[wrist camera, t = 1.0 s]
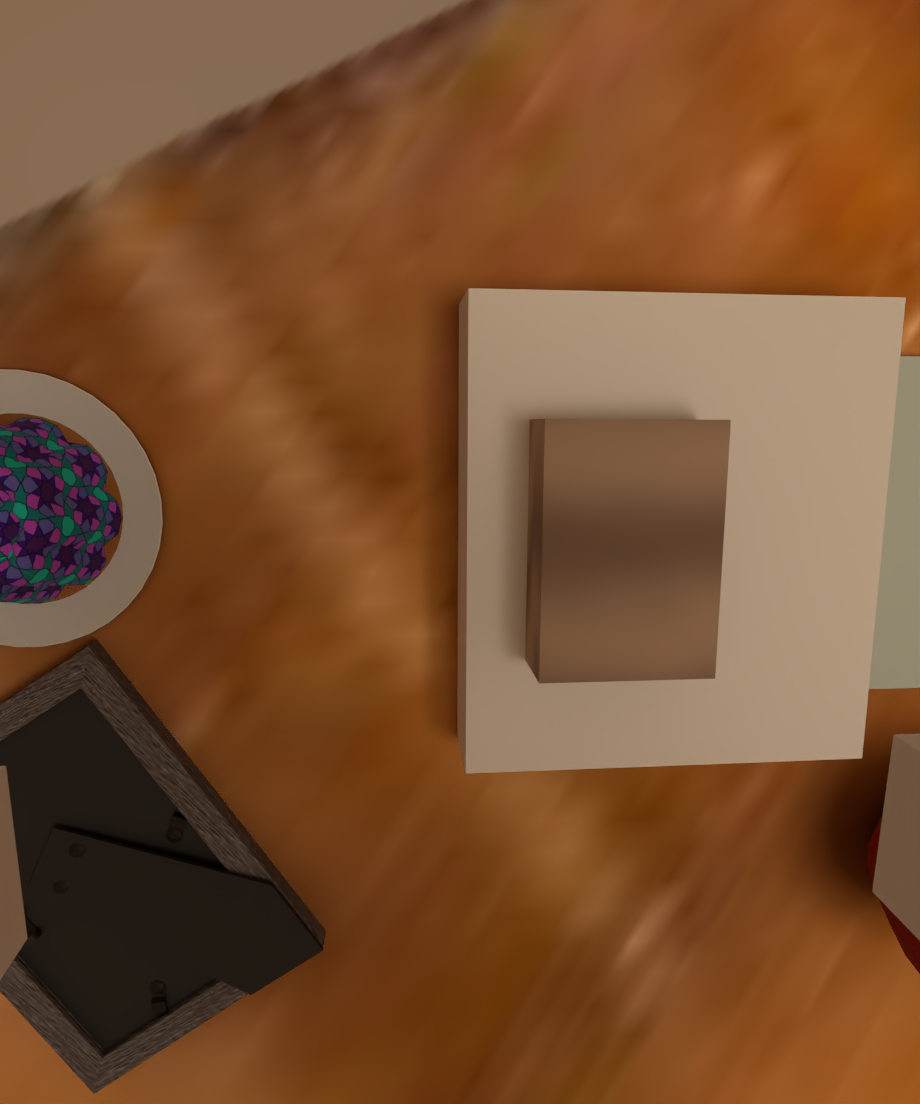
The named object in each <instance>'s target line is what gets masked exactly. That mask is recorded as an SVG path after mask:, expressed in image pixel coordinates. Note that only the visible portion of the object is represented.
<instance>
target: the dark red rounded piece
mask: <svg viewBox="0 0 920 1104" xmlns="http://www.w3.org/2000/svg"><path fill="white" fill-rule="evenodd" d="M881 823H882V817H881V818H880V820H879V822H878V824H877V826H876V828H875V830H874V832H873V834H872V836H871V839H870V841H869V843H868V868H867V871H868V874H869V876H870V878H871V881H872V883H873V882H874V875H875V867H876V860H877V853H878V845H879V838H880V830H881ZM880 902H881V904H882V906H883V909H884V911H885V913H886V916H887V918H888V920H889V923H890V925H891V927H892V929H893V931H894V933H895V935H896V937H897V939H898V941H899V943H900V945H901V947H902V949H903V951H904V953H905V955H906V956H907V958H908V959H909V960H910V962H911V963H912V964H913V966H914V967H915V968H916V970H917V971H918V972H919V973H920V940H919V939H918V938H917V937H916V936H915V935H914V934H913V933H912V932H911V931H910V930H909V929H908V928H907V927H906V926H905V925H904V924H903V923H902V922H901V921H900V920H899V919H898V918H897V917H896V916H895V915H894V914H893V913H892V912H891V911H890V909H889V908H888V907H887V906H886V905H885V904H884V903H883V902H882V901H881V900H880Z"/></svg>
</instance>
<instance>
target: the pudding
mask: <svg viewBox="0 0 920 1104" xmlns="http://www.w3.org/2000/svg"><path fill="white" fill-rule="evenodd" d="M5 413H24V414H30V415H35V416H41V417H44V418H47V419H50V420H53V421H56V422H59V423H61V424H62V425H64V426H66V427H68V428H70V429H72V430H74V431H75V432H77V433H78V434H79V435H80V436H82V437H83V438H84V439H86V440H87V441H88V442H89V443H90V444H91V445H92V446H93V447H94V448H95V449H96V450H97V451H98V452H99V453H100V454H101V455H102V457H103V458H104V460H105V462H106V463H107V465H108V466H109V468H110V469H111V471H112V473H113V475H114V478H115V480H116V482H117V484H118V487H119V491H120V495H121V500H122V508H123V524H122V533H121V537H120V540H119V543H118V547H117V550H116V552H115V554H114V555H113V557H112V559H111V561H110V563H109V565H108V566H107V567H106V568H105V569H104V571H103V572H102V573H101V574H100V576H99V577H98V578H96V579H95V580H94V581H93V582H92V583H91V584H89V585H88V586H87V587H86V588H84V589H82V590H80V591H79V592H77V593H75V594H73V595H71V596H69V597H66V598H63V599H60V600H58V601H53V602H48V603H42V602H45V601H48V600H52V599H55V598H56V597H57V596H58V594H59V593H60V592H61V590H62V589H63V588H64V586H65V585H85V584H86V583H88V582H89V581H91V580H92V579H94V578H95V577H97V576H98V575H99V573H100V572H101V570H102V568H103V567H104V565H105V563H106V558H105V549H104V545H105V544H106V543H107V542H108V541H110V540H111V539H112V538H114V537H115V536H116V535H117V534H118V532H119V528H120V524H121V519H122V518H121V512H120V507H119V502H117V501H116V500H115V499H114V498H113V497H112V496H111V495H110V494H109V493H108V492H107V491H106V490H105V487H106V481H107V474H108V471H107V469H106V467H105V465H104V463H103V461H102V459H101V457H100V456H99V455H98V454H97V453H95V452H94V451H93V450H92V449H91V448H90V447H88V446H87V445H82V444H75V443H68V442H67V441H66V439H65V437H64V436H63V434H62V433H61V431H60V429H59V428H58V426H56V425H54V424H52V423H50V422H48V421H46V420H44V419H41V418H26V417H24V418H21V419H19V420H17V421H15V422H13V423H11V424H9V425H7V426H4V425H1V424H0V645H5V646H13V647H44V646H49V645H54V644H60V643H65V642H69V641H71V640H74V639H77V638H79V637H82V636H85V635H88V634H90V633H92V632H93V631H95V630H97V629H98V628H100V627H102V626H104V625H105V624H107V623H109V622H110V621H111V620H113V619H114V618H115V617H116V616H117V615H118V614H120V613H121V612H122V611H123V610H124V609H125V608H127V607H128V605H129V604H130V603H131V602H132V601H133V599H134V598H135V597H136V596H137V594H138V593H139V592H140V591H141V589H142V588H143V586H144V584H145V582H146V580H147V579H148V577H149V575H150V573H151V571H152V569H153V567H154V563H155V560H156V557H157V554H158V551H159V548H160V542H161V534H162V526H163V519H162V501H161V496H160V492H159V488H158V483H157V479H156V475H155V473H154V471H153V468H152V466H151V464H150V462H149V459H148V457H147V455H146V453H145V451H144V449H143V448H142V446H141V445H140V443H139V442H138V440H137V439H136V437H135V436H134V434H133V433H132V431H131V430H130V429H129V428H128V427H127V426H126V425H125V424H124V423H123V421H122V420H121V419H120V418H119V417H118V416H117V415H116V414H115V413H114V412H113V411H112V410H110V409H109V408H108V407H107V406H105V405H104V404H103V403H102V402H100V401H99V400H98V399H96V398H95V397H94V396H92V395H90V394H89V393H87V392H85V391H83V390H81V389H80V388H78V387H76V386H74V385H72V384H70V383H68V382H65V381H62V380H59V379H57V378H54V377H51V376H48V375H45V374H40V373H35V372H29V371H24V370H7V369H0V414H5ZM12 602H13V603H12ZM19 603H42V604H19Z"/></svg>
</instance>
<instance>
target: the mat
mask: <svg viewBox="0 0 920 1104" xmlns="http://www.w3.org/2000/svg"><path fill="white" fill-rule="evenodd" d="M890 688H920V356H900V364H899V374H898V385H897V395H896V406H895V416H894V427H893V438H892V448H891V459H890V469H889V480H888V490H887V501H886V511H885V522H884V533H883V543H882V554H881V564H880V575H879V585H878V596H877V607H876V617H875V628H874V638H873V649H872V659H871V670H870V680H869V689H890Z"/></svg>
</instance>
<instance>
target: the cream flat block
mask: <svg viewBox="0 0 920 1104" xmlns="http://www.w3.org/2000/svg"><path fill="white" fill-rule="evenodd" d="M905 300H906V298H900V297H854V296H807V295H761V294H714V293H668V292H621V291H575V290H528V289H482V288H468V290H467V292H466V293H465V295H464V297H463V298H462V300H461V302H460V304H459V416H458V672H457V738H458V742H459V746H460V751H461V755H462V760H463V764H464V768H465V773H466V774H469V773H495V772H521V771H547V770H573V769H599V768H625V767H651V766H677V765H703V764H729V763H755V762H781V761H807V760H833V759H859V758H862V754H863V744H864V733H865V723H866V712H867V702H868V691H869V680H870V670H871V659H872V649H873V638H874V628H875V617H876V607H877V596H878V585H879V575H880V564H881V554H882V543H883V533H884V522H885V511H886V501H887V490H888V480H889V469H890V459H891V448H892V438H893V427H894V416H895V406H896V395H897V385H898V374H899V364H900V353H901V342H902V332H903V321H904V311H905ZM531 419H676V420H731V427H730V443H729V460H728V476H727V493H726V509H725V525H724V542H723V558H722V575H721V591H720V608H719V624H718V641H717V657H716V674H715V679H683V680H647V681H611V682H574V683H539V682H538V681H537V679H536V677H535V676H534V674H533V672H532V670H531V669H530V667H529V665H528V664H527V662H526V660H525V648H526V594H527V541H528V488H529V434H530V420H531Z"/></svg>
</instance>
